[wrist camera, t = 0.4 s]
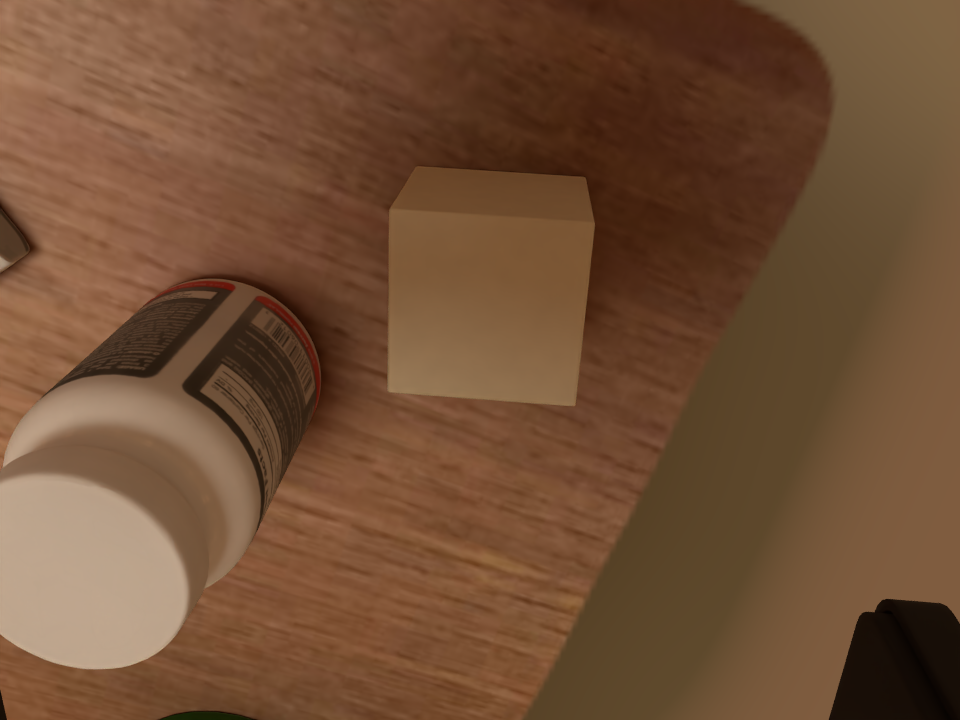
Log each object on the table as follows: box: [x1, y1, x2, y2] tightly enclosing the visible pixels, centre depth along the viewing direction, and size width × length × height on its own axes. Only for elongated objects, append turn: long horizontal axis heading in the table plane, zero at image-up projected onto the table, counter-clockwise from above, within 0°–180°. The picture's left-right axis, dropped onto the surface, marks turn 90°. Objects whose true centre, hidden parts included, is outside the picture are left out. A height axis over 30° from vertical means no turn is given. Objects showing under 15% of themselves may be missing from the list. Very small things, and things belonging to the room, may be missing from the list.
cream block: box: [387, 166, 595, 406], centre depth 22 cm, size 4×4×4 cm
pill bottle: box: [0, 279, 321, 669], centre depth 22 cm, size 6×6×10 cm
